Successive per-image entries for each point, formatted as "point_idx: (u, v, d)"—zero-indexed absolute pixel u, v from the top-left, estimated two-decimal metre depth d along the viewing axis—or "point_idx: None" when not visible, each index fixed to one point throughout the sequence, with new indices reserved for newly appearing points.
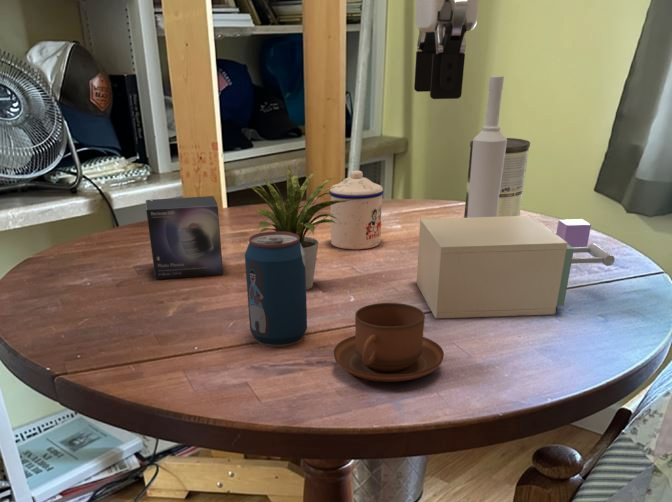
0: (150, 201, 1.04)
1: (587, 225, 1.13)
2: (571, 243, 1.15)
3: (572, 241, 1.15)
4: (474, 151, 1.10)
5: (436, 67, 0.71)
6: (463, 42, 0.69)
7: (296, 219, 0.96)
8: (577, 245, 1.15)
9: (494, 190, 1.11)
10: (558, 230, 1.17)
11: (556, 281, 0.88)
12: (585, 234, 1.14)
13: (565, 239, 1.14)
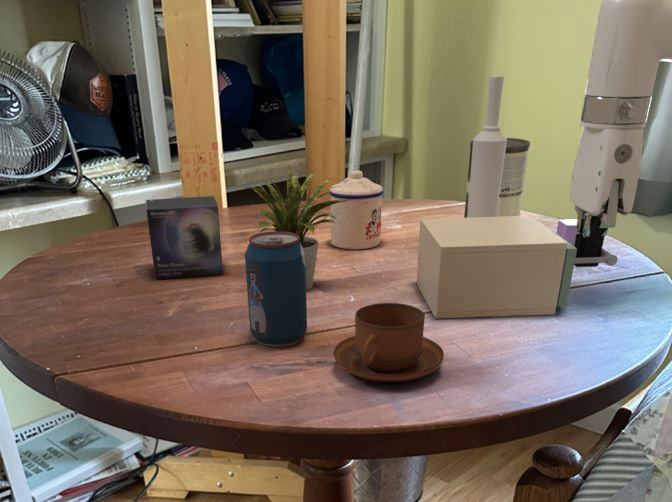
0: (150, 201, 1.04)
1: None
2: (571, 243, 1.15)
3: (572, 241, 1.15)
4: (474, 151, 1.10)
5: (581, 245, 0.92)
6: (604, 234, 0.91)
7: (296, 219, 0.96)
8: None
9: (494, 190, 1.11)
10: (558, 230, 1.17)
11: (556, 281, 0.88)
12: None
13: (565, 239, 1.14)
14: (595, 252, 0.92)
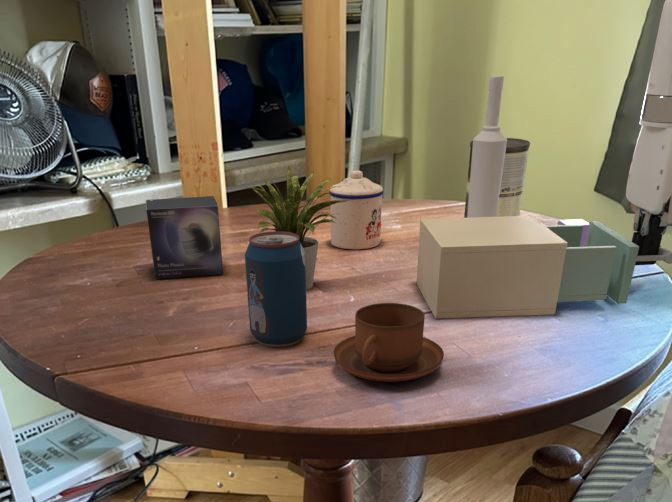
0: (150, 201, 1.04)
1: (587, 225, 1.13)
2: None
3: None
4: (474, 151, 1.10)
5: (639, 243, 0.93)
6: (663, 232, 0.91)
7: (296, 219, 0.96)
8: None
9: (494, 190, 1.11)
10: None
11: (556, 281, 0.88)
12: (585, 234, 1.14)
13: None
14: (653, 250, 0.92)
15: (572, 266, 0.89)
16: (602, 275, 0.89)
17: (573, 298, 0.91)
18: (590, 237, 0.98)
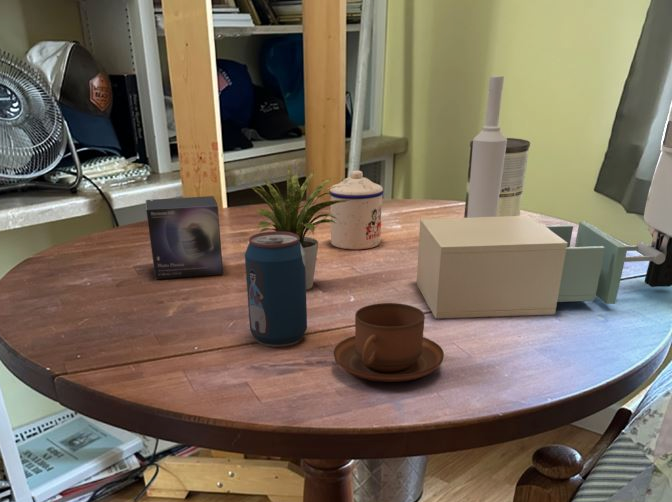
0: (150, 201, 1.04)
1: None
2: None
3: None
4: (474, 151, 1.10)
5: (657, 266, 0.94)
6: None
7: (296, 219, 0.96)
8: None
9: (494, 190, 1.11)
10: None
11: (556, 281, 0.88)
12: None
13: None
14: (670, 272, 0.94)
15: None
16: (590, 275, 0.89)
17: (562, 299, 0.91)
18: (580, 237, 0.98)
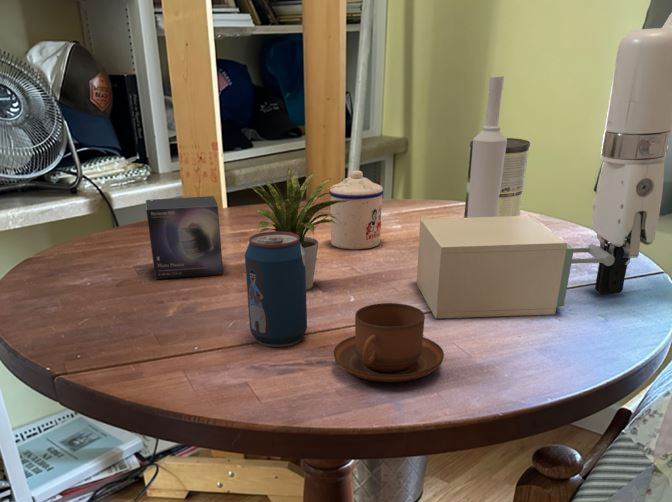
0: (150, 201, 1.04)
1: None
2: None
3: None
4: (474, 151, 1.10)
5: (605, 273, 0.95)
6: (627, 262, 0.93)
7: (296, 219, 0.96)
8: None
9: (494, 190, 1.11)
10: None
11: (556, 281, 0.88)
12: None
13: None
14: (618, 279, 0.94)
15: None
16: None
17: None
18: None
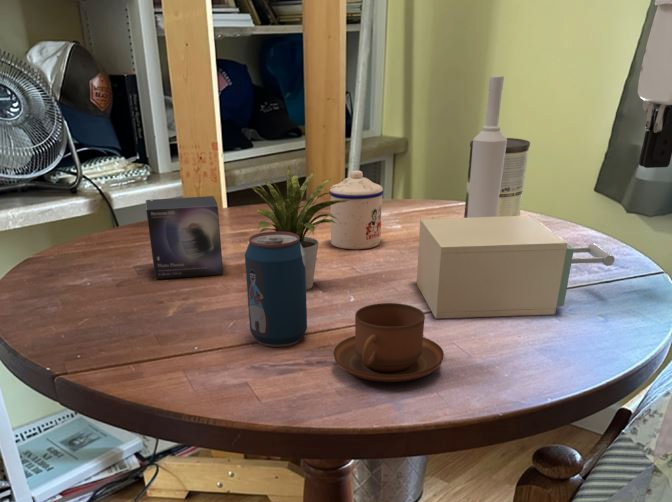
0: (150, 201, 1.04)
1: None
2: None
3: None
4: (474, 151, 1.10)
5: (652, 142, 0.86)
6: None
7: (296, 219, 0.96)
8: None
9: (494, 190, 1.11)
10: None
11: (556, 281, 0.88)
12: None
13: None
14: (667, 150, 0.86)
15: None
16: None
17: None
18: None
